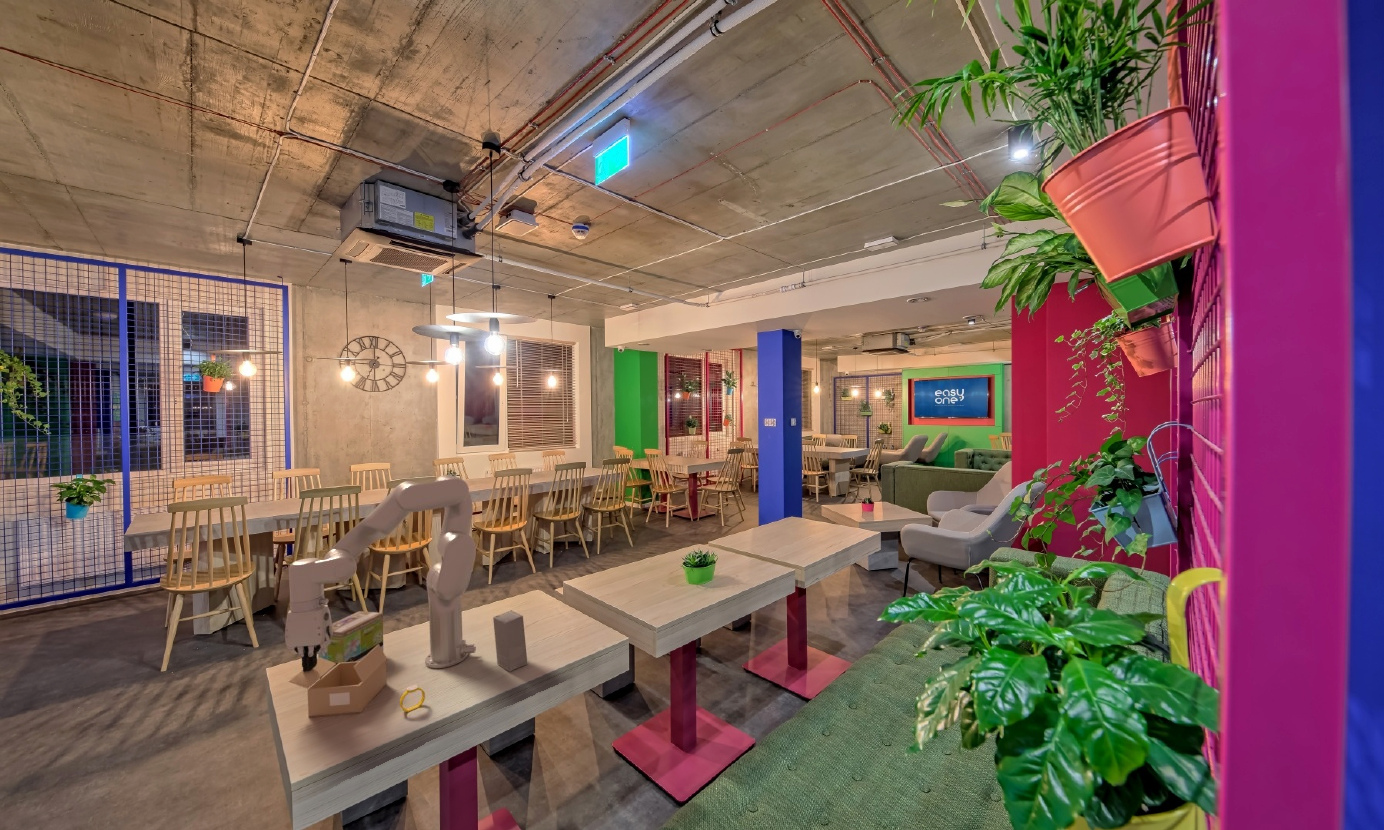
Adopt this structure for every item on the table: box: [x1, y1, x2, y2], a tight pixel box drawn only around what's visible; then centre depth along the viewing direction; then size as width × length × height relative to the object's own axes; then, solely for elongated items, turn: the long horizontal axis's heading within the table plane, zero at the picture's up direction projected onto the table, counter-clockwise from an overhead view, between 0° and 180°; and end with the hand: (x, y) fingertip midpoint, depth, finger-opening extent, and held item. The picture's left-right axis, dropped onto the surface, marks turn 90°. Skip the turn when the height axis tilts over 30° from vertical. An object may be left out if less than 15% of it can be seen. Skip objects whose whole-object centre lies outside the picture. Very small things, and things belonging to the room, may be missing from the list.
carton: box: [307, 659, 387, 718], centre depth 139 cm, size 13×14×8 cm
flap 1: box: [288, 657, 336, 690], centre depth 138 cm, size 5×12×1 cm, turn 6°
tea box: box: [317, 610, 384, 678], centre depth 158 cm, size 15×10×15 cm, turn 168°
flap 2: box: [354, 644, 388, 683], centre depth 140 cm, size 5×12×1 cm
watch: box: [399, 684, 426, 713], centre depth 135 cm, size 6×3×6 cm, turn 136°
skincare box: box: [492, 610, 528, 672], centre depth 157 cm, size 8×7×16 cm
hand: (309, 668), depth 138 cm, fingers closed
